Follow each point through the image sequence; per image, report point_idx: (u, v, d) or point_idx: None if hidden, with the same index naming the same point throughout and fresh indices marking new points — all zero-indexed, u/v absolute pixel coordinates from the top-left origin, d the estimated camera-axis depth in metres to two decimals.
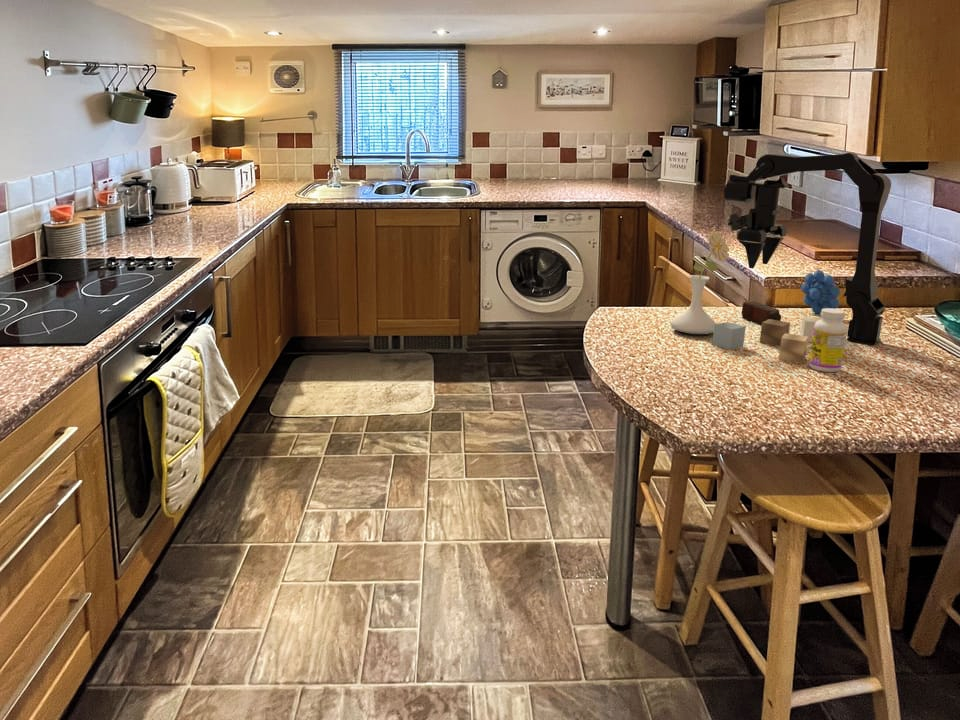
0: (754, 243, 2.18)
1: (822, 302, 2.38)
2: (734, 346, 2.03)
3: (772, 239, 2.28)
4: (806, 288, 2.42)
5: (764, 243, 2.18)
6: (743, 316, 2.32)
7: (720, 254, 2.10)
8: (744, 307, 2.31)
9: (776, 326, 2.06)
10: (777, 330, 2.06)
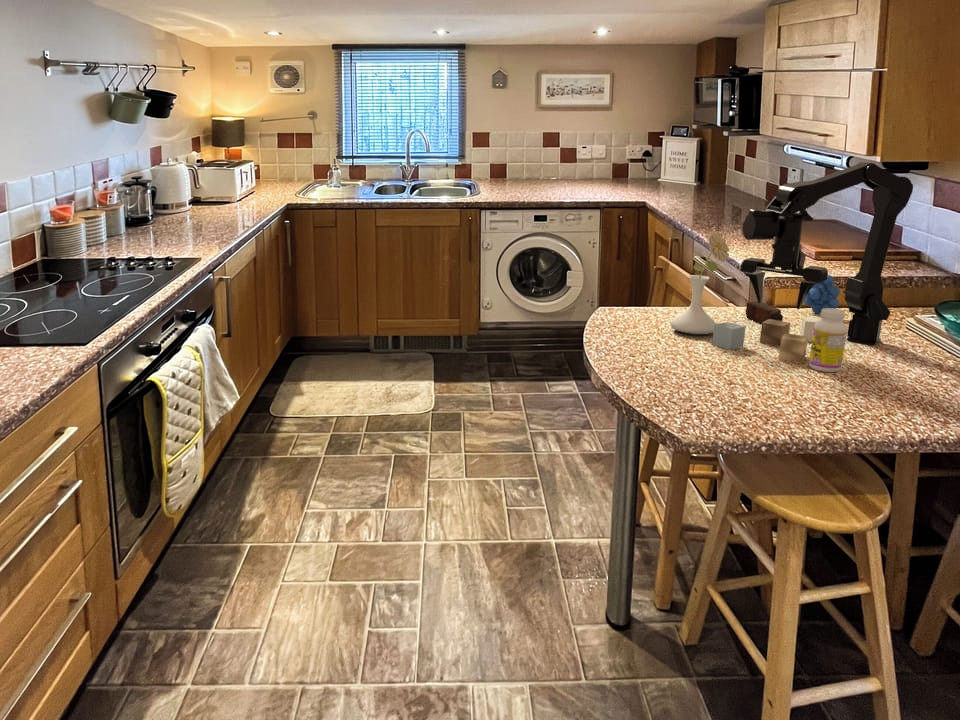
0: None
1: (822, 302, 2.38)
2: (734, 346, 2.03)
3: None
4: None
5: (754, 275, 2.06)
6: (747, 315, 2.33)
7: (720, 254, 2.10)
8: (748, 307, 2.32)
9: (776, 326, 2.06)
10: (777, 330, 2.06)
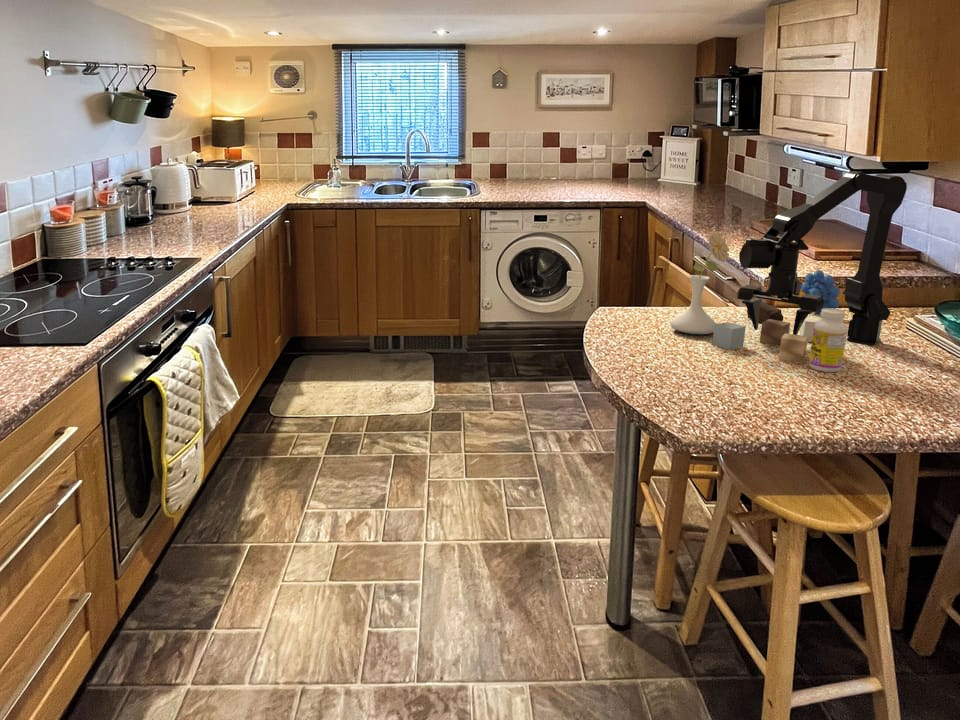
0: None
1: None
2: (734, 346, 2.03)
3: None
4: (806, 288, 2.42)
5: (750, 303, 2.08)
6: (748, 315, 2.33)
7: (720, 254, 2.10)
8: None
9: (776, 326, 2.06)
10: (777, 330, 2.06)
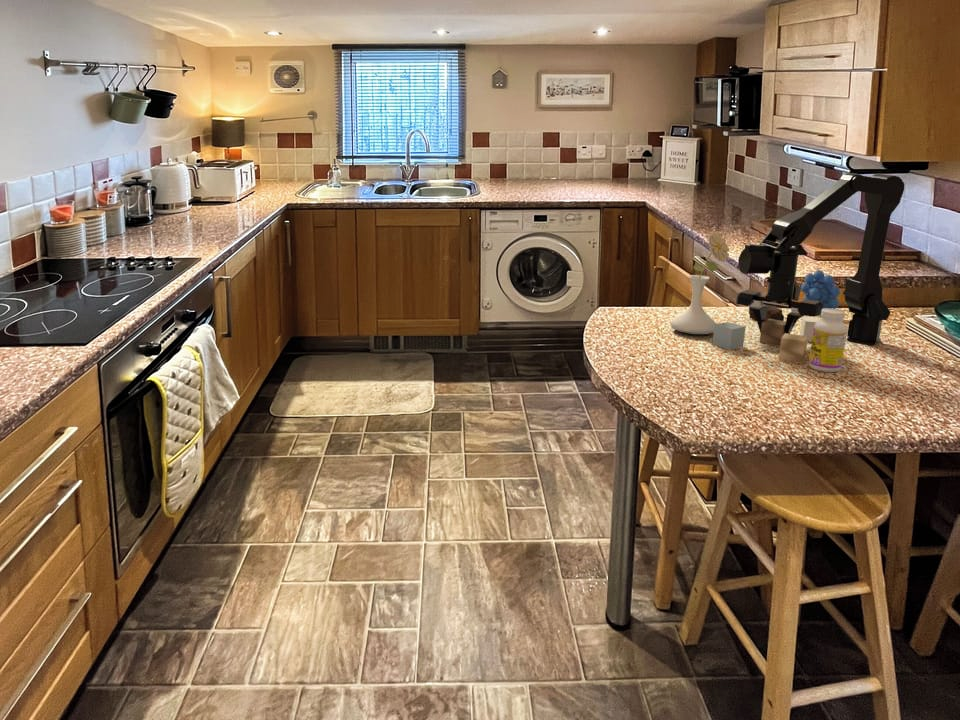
0: None
1: (822, 302, 2.38)
2: (734, 346, 2.03)
3: None
4: (806, 288, 2.42)
5: (757, 310, 2.07)
6: (750, 315, 2.33)
7: (720, 254, 2.10)
8: None
9: (776, 326, 2.06)
10: (777, 330, 2.06)
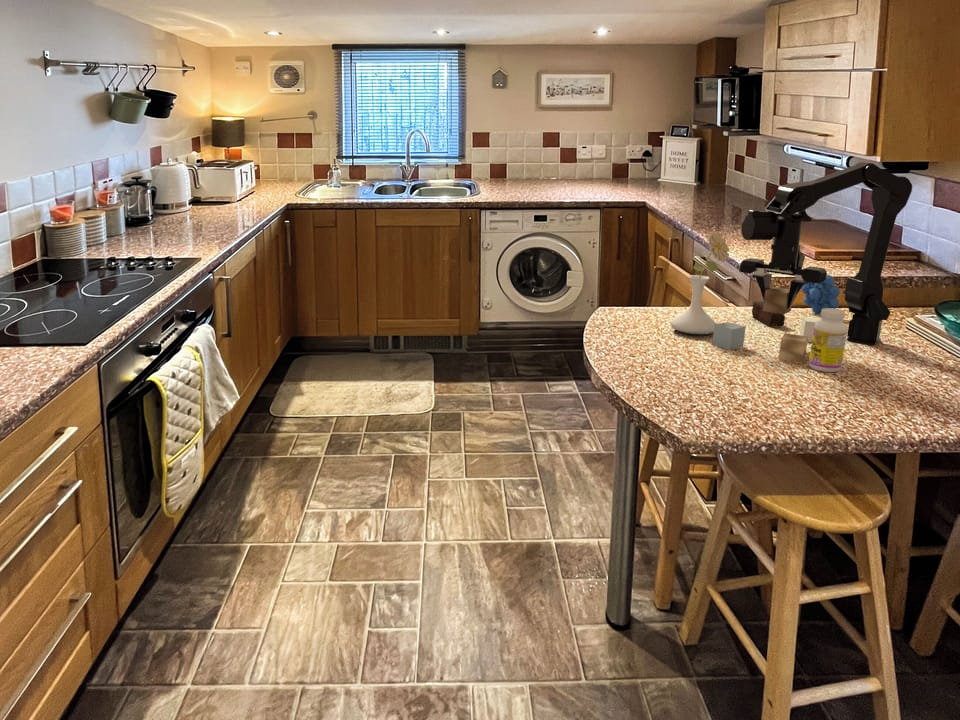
0: None
1: (822, 302, 2.38)
2: (734, 346, 2.03)
3: None
4: (806, 288, 2.42)
5: (761, 277, 2.05)
6: (753, 315, 2.33)
7: (720, 254, 2.10)
8: (753, 306, 2.33)
9: (780, 293, 2.04)
10: (780, 298, 2.04)
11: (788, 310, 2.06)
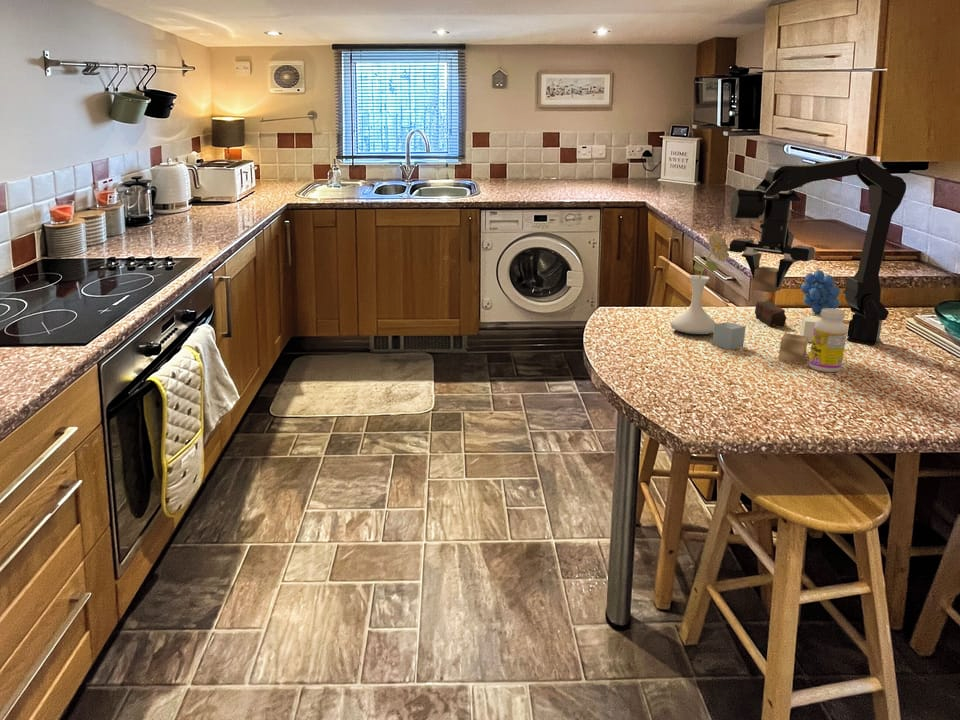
0: None
1: (822, 302, 2.38)
2: (734, 346, 2.03)
3: None
4: (806, 288, 2.42)
5: (750, 256, 2.08)
6: (756, 315, 2.33)
7: (720, 254, 2.10)
8: (756, 306, 2.33)
9: (769, 272, 2.06)
10: (769, 276, 2.06)
11: (777, 289, 2.09)
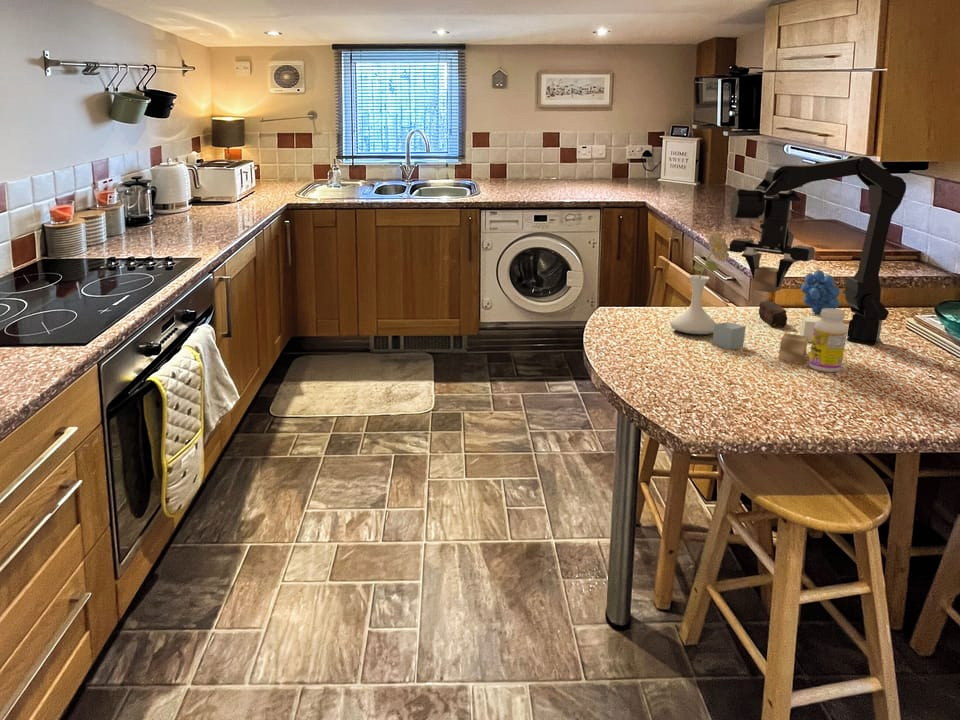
0: None
1: (822, 302, 2.38)
2: (734, 346, 2.03)
3: None
4: (806, 288, 2.42)
5: (750, 256, 2.08)
6: None
7: (720, 254, 2.10)
8: (760, 306, 2.33)
9: (769, 272, 2.06)
10: (769, 276, 2.06)
11: (777, 289, 2.09)
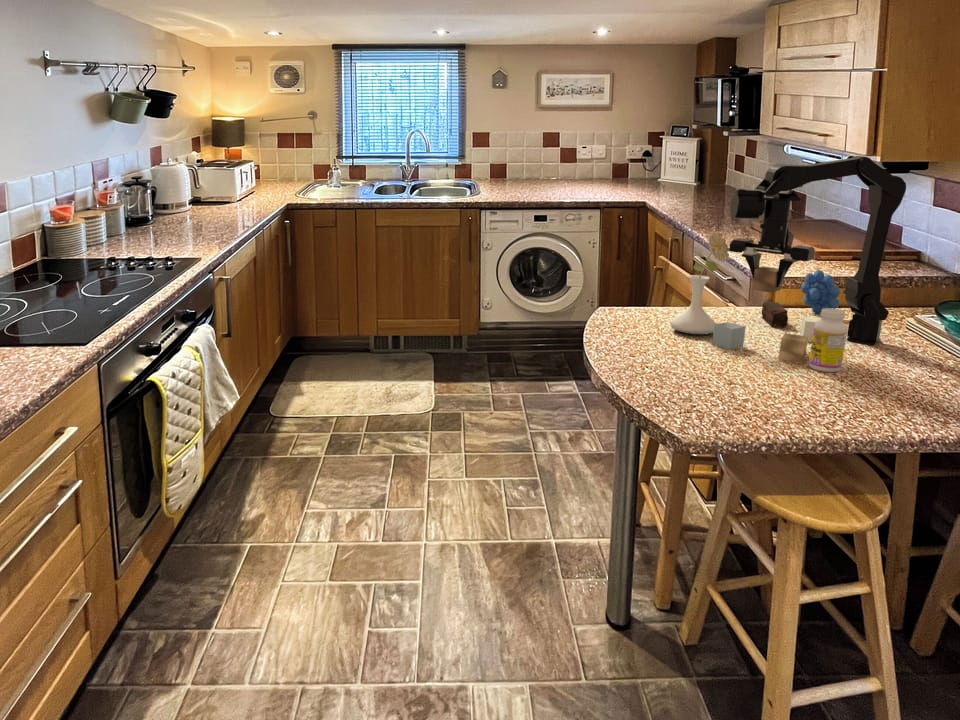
0: None
1: (822, 302, 2.38)
2: (734, 346, 2.03)
3: None
4: (806, 288, 2.42)
5: (750, 256, 2.08)
6: (762, 315, 2.34)
7: (720, 254, 2.10)
8: (763, 306, 2.33)
9: (769, 272, 2.06)
10: (769, 276, 2.06)
11: (777, 289, 2.09)
